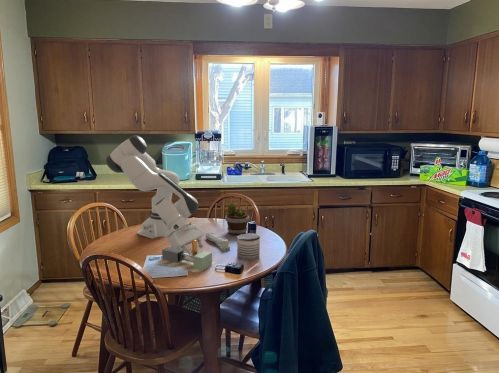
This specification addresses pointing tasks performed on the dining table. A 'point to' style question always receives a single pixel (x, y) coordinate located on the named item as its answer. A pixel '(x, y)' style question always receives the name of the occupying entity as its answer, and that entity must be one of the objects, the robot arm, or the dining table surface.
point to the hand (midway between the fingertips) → (196, 250)
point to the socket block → (202, 260)
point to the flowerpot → (236, 220)
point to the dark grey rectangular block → (171, 254)
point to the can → (248, 246)
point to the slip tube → (189, 257)
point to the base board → (181, 265)
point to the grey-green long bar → (218, 241)
